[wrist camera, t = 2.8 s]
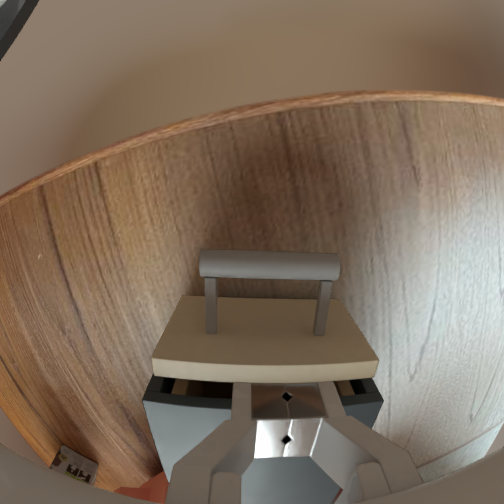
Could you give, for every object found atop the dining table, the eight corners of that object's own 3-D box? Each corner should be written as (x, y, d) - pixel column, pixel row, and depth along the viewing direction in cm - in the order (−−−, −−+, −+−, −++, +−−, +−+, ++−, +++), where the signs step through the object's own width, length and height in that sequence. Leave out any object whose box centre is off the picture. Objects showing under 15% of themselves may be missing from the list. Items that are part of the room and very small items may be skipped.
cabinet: (178, 315, 22) (141, 399, 13) (339, 319, 22) (384, 400, 13) (192, 434, 26) (178, 508, 16) (312, 436, 26) (327, 509, 17)
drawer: (179, 229, 19) (139, 265, 12) (348, 236, 19) (400, 273, 12) (194, 421, 24) (181, 486, 16) (313, 423, 24) (328, 487, 17)
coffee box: (60, 442, 28) (20, 520, 12) (100, 464, 29) (67, 547, 13) (61, 464, 30) (29, 531, 14) (95, 482, 31) (69, 553, 15)
